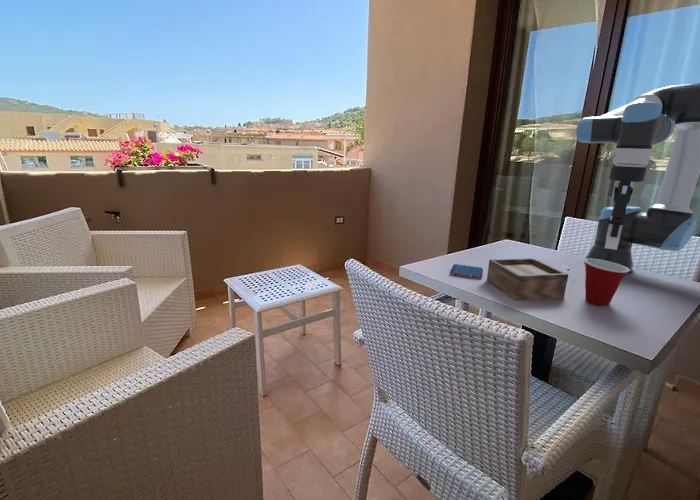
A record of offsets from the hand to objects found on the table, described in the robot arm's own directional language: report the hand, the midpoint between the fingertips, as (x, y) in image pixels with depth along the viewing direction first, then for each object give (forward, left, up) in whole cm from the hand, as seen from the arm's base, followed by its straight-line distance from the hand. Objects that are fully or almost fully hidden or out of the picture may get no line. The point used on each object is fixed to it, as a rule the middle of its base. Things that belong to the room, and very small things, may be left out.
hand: (611, 243), depth 101 cm
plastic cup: (0, 0, -18) cm, 18 cm away
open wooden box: (+16, -12, -18) cm, 27 cm away
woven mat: (+27, -28, -18) cm, 43 cm away
